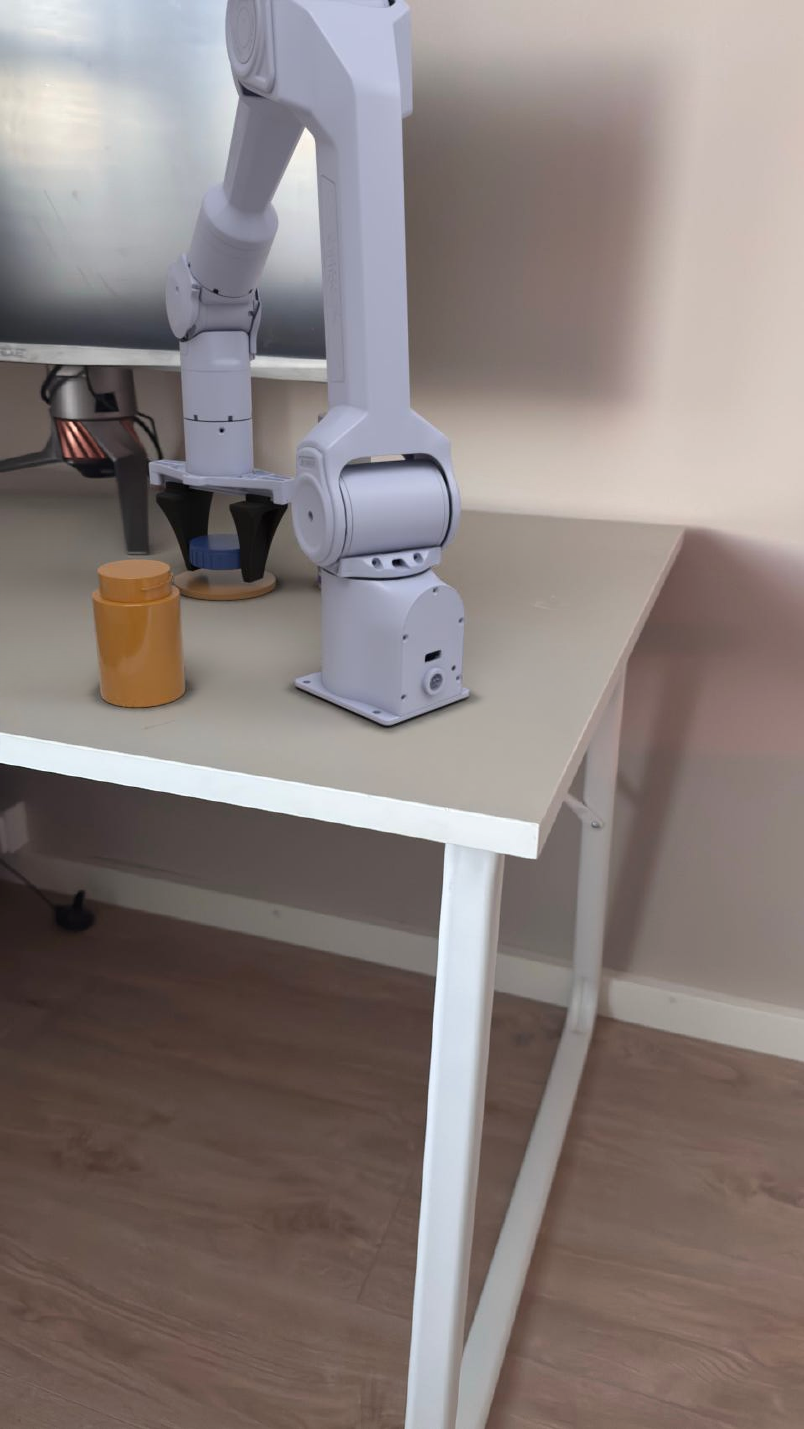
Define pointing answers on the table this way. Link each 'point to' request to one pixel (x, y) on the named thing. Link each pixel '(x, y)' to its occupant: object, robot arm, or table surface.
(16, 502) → the table surface
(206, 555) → the lid
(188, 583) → the coaster
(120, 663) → the jar
